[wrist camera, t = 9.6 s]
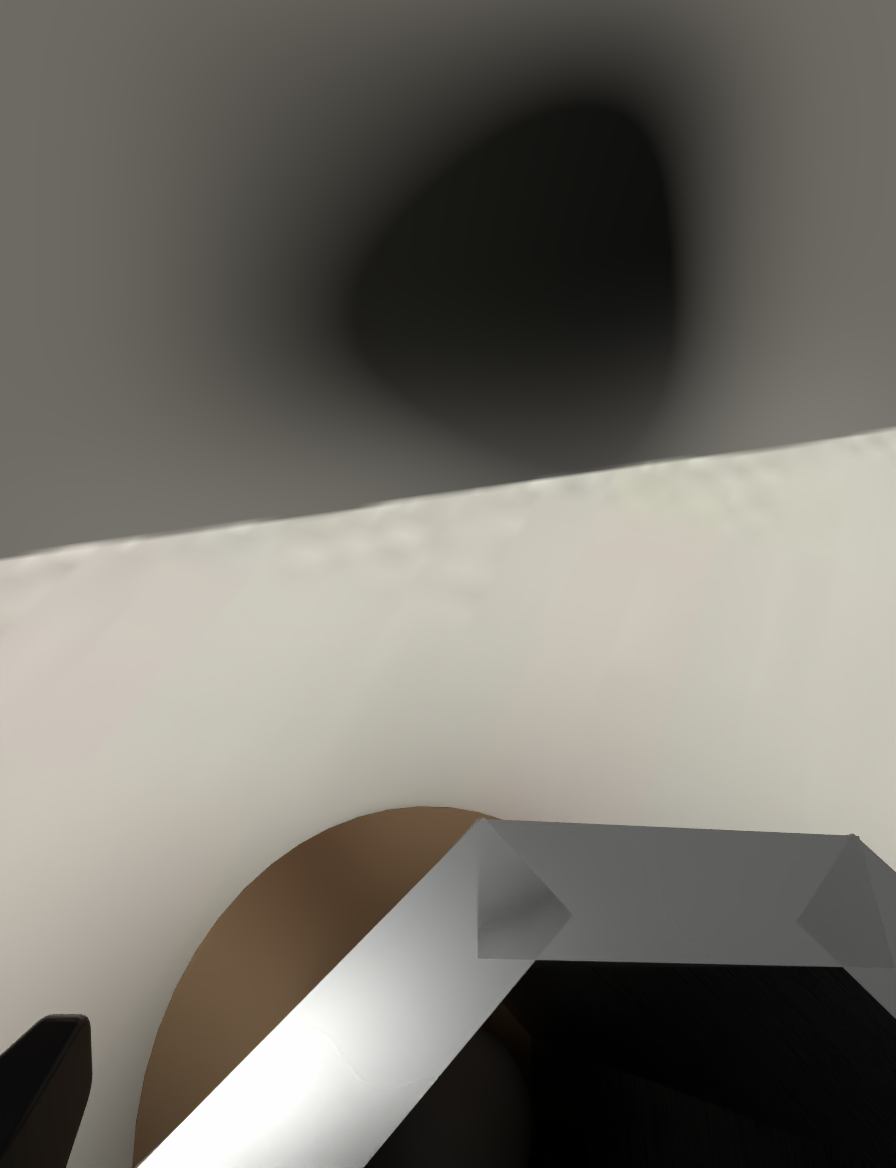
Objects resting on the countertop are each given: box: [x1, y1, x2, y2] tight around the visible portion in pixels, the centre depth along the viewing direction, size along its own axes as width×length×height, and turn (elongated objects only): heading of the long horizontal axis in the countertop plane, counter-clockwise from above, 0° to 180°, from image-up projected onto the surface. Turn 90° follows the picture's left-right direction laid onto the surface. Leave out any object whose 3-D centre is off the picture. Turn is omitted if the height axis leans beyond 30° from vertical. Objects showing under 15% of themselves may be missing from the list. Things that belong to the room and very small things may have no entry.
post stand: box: [133, 807, 535, 1168], centre depth 12 cm, size 11×11×5 cm
